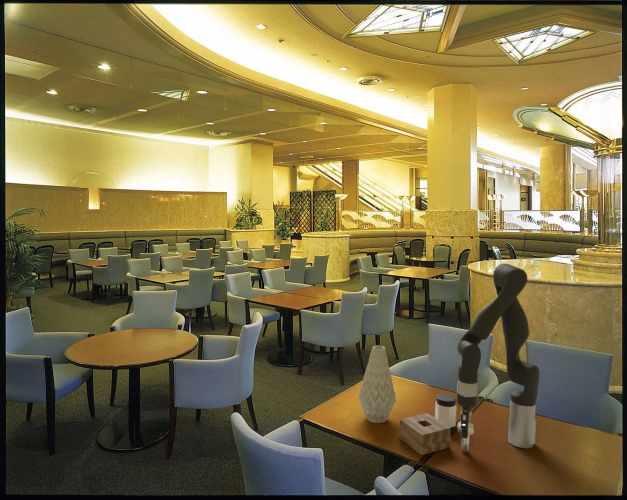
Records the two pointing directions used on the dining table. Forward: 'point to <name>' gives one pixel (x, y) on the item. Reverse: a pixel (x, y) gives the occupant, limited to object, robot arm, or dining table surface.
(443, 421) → the jar
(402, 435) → the pin block
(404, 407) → the dining table surface
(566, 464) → the dining table surface
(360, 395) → the vase
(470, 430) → the pin
